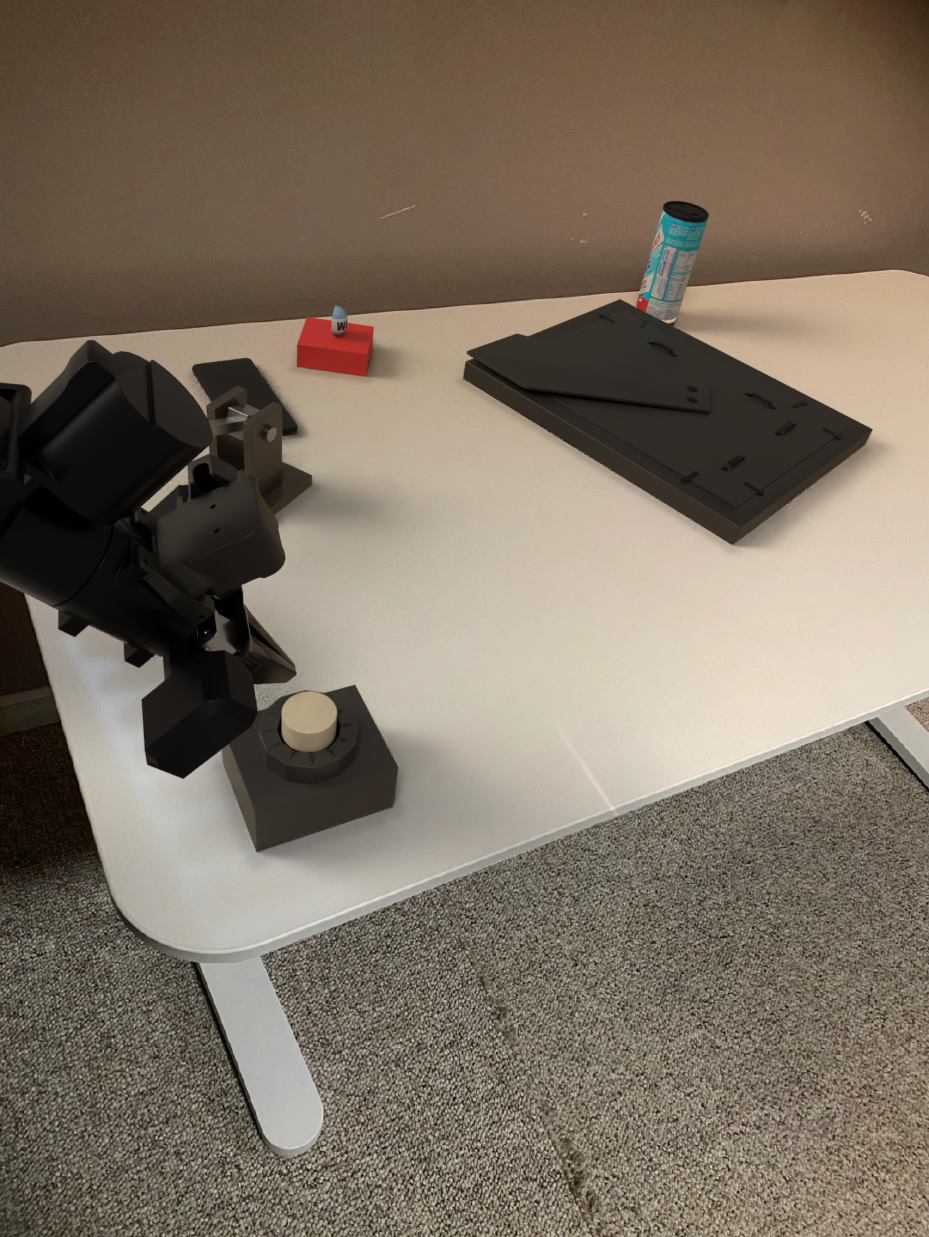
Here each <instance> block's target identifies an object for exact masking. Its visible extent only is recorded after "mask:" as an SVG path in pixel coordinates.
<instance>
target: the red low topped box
mask: <svg viewBox="0 0 929 1237" xmlns="http://www.w3.org/2000/svg"><path fill="white" fill-rule="evenodd" d="M374 329H375V326H373V325H368V324H367V325H366V324H359V323H352V322H348V314H347V312H346V310H345V309H344V308H343V307H341V306H339V305H334V309H333V312H332V318H331V319H324V318H317V317H310V316H306V317H305V320H304V323H303V326H302V329H301V331H300V334H299V338H298V340H297V343H296V368H304V369H310V370H311V369H312V370H318V371H326V372H331V373H333V372H334V373H339V374H340V373H341V374H347V375H348V374H349V375H354V376H355V375H356V376H361V377H367V374H368V369H369V365H370V359H371V356H372V351H373V347H374V346H373V345H374V344H373V342H374V331H375V330H374Z"/></svg>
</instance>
